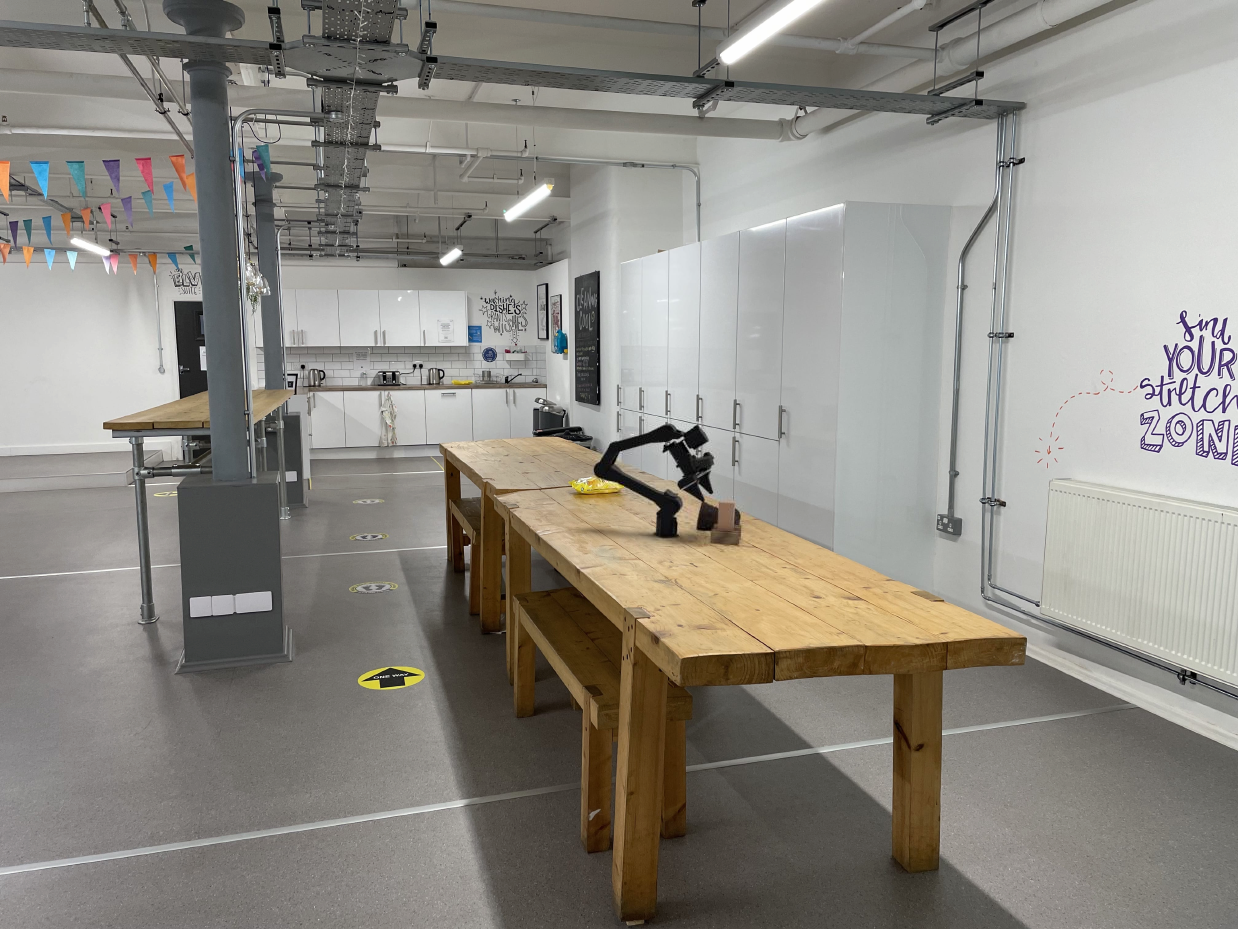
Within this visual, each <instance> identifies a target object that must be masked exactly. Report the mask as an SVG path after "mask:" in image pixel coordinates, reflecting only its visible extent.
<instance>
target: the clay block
mask: <svg viewBox="0 0 1238 929" xmlns="http://www.w3.org/2000/svg"><path fill="white" fill-rule="evenodd" d="M718 508H719V509H718V530H729V531H734V513H735V508H736V501H735V500H721V499H720V500H719V501H718Z"/></svg>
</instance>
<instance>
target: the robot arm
mask: <svg viewBox="0 0 1238 929" xmlns="http://www.w3.org/2000/svg"><path fill="white" fill-rule="evenodd" d="M681 438H683V439H681ZM680 439H681V440H680ZM673 440H674V441H673ZM676 440H680V441H678V442H677V441H676ZM671 441H672V442H671ZM709 441H710V439H709V437H708V435H707V434H706V431H704V430H703V429H702V428H701V427H700V426H699V424H698V423H697V424H695V425H694V426H693V427H692V428H690V429H689V430H687V431H683V430H680V429H678V428H677V427H676V426H675V424H672V423H665V424H663V425H661V426H658V427H657V428H654V429H653V430H651V431H648V432H645V433H641V434H639V435H635V436H631V437H627V438H624V439H620V440H614V441H612V442H610V443H609V445H608V447H607V448H606V450H605V452H604V454H603V455H602V456H601V459H600V461H598V462H596V463H595V464H594V466H593V474H594V476H595V477H596V478H597V479H601V480H602V481H603V480H604V481H607V482H611V483H616V484H618V485H621V486H622V487H624V488H626V489H628V490H630V491H632V492H634V493H636V494H638V495H639V496H641V497H643V498H645V499H647V500H649V501H651V502H653V503H654V504H655V505H656V506H657V508H659V509H658V511H656V513H655V515H656V523H655V532H653V533H652V534H653V535H655V536H658V537H660V538H673V537H674V538H675V537H680V534H678V524H679V523H678V517H677V514H678V513H679V512H680V511H681V509H682V508H683V506H684V502H683V500H682V497H680V496H679V493H676V492H673V491H672V490H670V489H669V488H667V489H665V490H664V491H661V490H659V489H657V488H655V487H653V486H651V485H649V484H647V483H645V482H643V481H641V480H639V479H637V478H635V477H634V476H631V475H630V474H628V473H626V472H624V471H623V470H622V469H621V468H620V467H619V466H618V465H617V464H615V463H616V462H617V459H618V457H619V454H620V453H621V452H624V451H628V450H630V449H631V450H632V449H634V448H637V447H641V446H646V445H648V444H661V443H662V444H663V443H664V444H663V446H662V447H663V448H662V451H661V452H662V454H665V453H666V452H669V454H670V456H671V457H672V459H673V460H674V462H675V467H676V469H678V468H679V469H680V471H681V473H682V476H681V477H682V478H680V479H679V480H678V481H677V487H678V489H679V490H682V491H684V492H685V493H688V494H689V495H690V496H692V497H694V498H696V499H697V500H698V501H700V502H701V503H702V502H706V499H705V497H704V494H703V491H701V488H703V489H704V490H705V491H706V492H707V494H710V495H713V494H714V490H713V487H712V484H711V480H710V475H711V472H712V470H711V469H712V467H713V466H714V465H715V462H714V460H715V457H714V455H713V454H712V453H711V452H710V451H706V452H704V453H703V454H702V456H698V457H697V456H696V454H692V453H691V452H690V450H692V449H693V451H696V450H697V449H699V448H700V447H702V446H704V445H705V444H707V443H708V442H709ZM669 442H670V443H669ZM666 443H669V444H666ZM700 486H701V488H700Z"/></svg>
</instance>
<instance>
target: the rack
mask: <svg viewBox="0 0 1238 929" xmlns="http://www.w3.org/2000/svg"><path fill="white" fill-rule="evenodd" d="M741 537H742V525H739V526H737V525H734V531H729V530H718V524H714V528H713V529H711V531H710V539H709V543H710V544H717V543H719V544H720V545H723V544H724V545H731V546H732V545H733V546H739V544H740V541H741ZM739 540H740V541H739Z"/></svg>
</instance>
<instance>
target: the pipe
mask: <svg viewBox="0 0 1238 929" xmlns="http://www.w3.org/2000/svg"><path fill="white" fill-rule="evenodd" d="M718 509H719V507H717V506H714V505H713V504H709V503H708V502H706V501H704V502H701V504H700V507H699V512H698V516H697V520H696V526H695V527H696V529H701V530H702V529H704V530H709V529H710V530H712V529H713V528H714V524H718ZM741 518H742V516H741V512H740V511H739V510H738V508H736V507H735V513H734V525H737V526H740V525H741V522H740V521H741Z"/></svg>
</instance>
